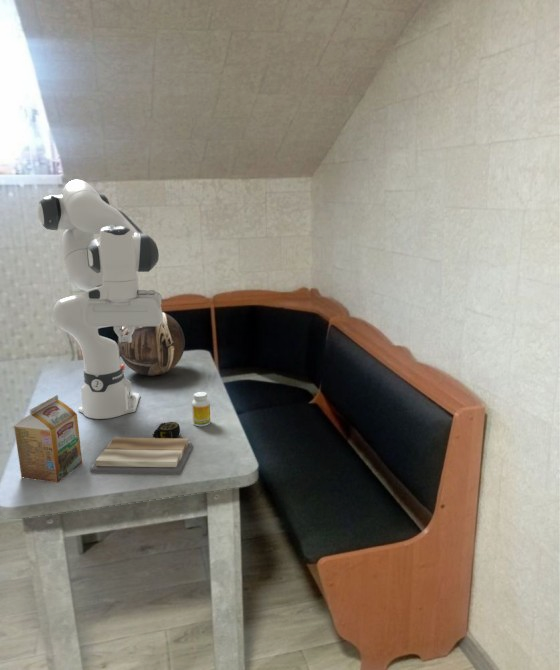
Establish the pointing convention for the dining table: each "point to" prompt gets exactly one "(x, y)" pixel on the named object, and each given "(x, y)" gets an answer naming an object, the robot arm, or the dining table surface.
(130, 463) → the ash plank
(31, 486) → the dining table surface
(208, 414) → the supplement bottle
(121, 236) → the robot arm
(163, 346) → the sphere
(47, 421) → the milk carton
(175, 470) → the board
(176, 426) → the tape measure
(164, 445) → the oak plank
